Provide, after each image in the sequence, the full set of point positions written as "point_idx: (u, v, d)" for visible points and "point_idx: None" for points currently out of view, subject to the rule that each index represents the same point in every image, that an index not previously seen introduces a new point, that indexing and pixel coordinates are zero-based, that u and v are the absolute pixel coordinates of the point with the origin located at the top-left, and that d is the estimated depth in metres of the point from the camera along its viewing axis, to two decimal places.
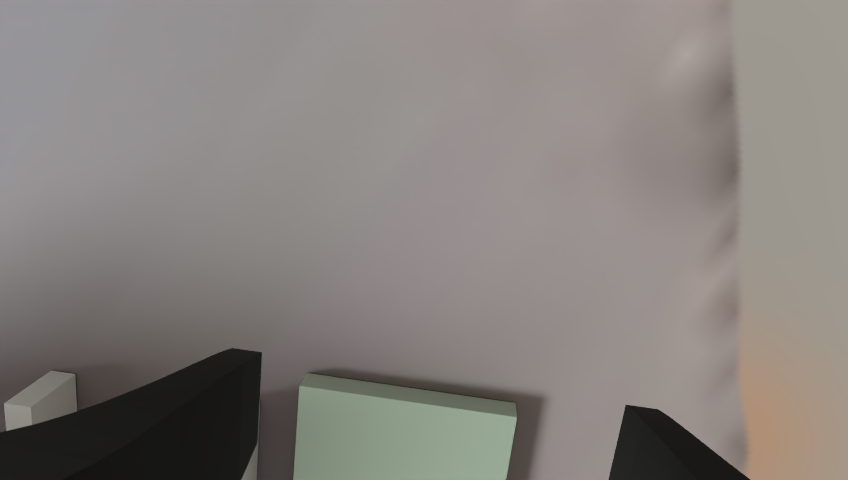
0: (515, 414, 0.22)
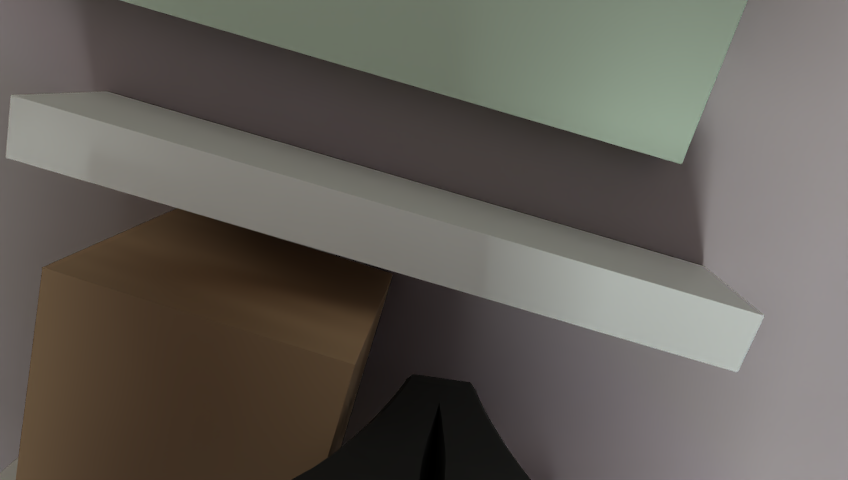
0: None
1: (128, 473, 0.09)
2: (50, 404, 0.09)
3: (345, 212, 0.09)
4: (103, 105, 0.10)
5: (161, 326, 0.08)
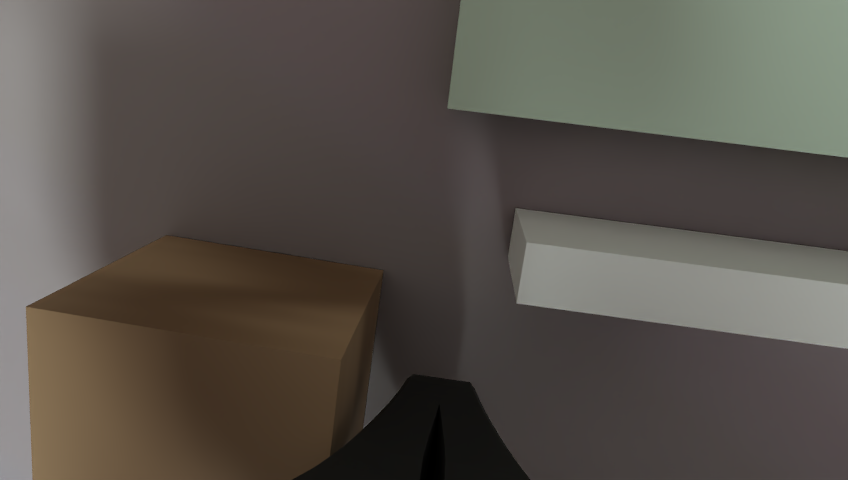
0: None
1: None
2: (55, 440, 0.09)
3: None
4: (565, 230, 0.10)
5: (147, 348, 0.08)
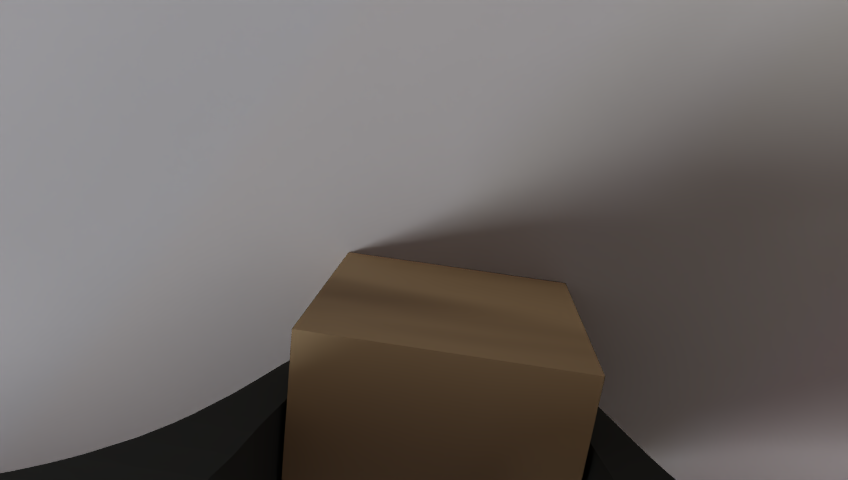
0: None
1: (390, 447, 0.09)
2: (453, 377, 0.09)
3: None
4: None
5: (559, 479, 0.09)
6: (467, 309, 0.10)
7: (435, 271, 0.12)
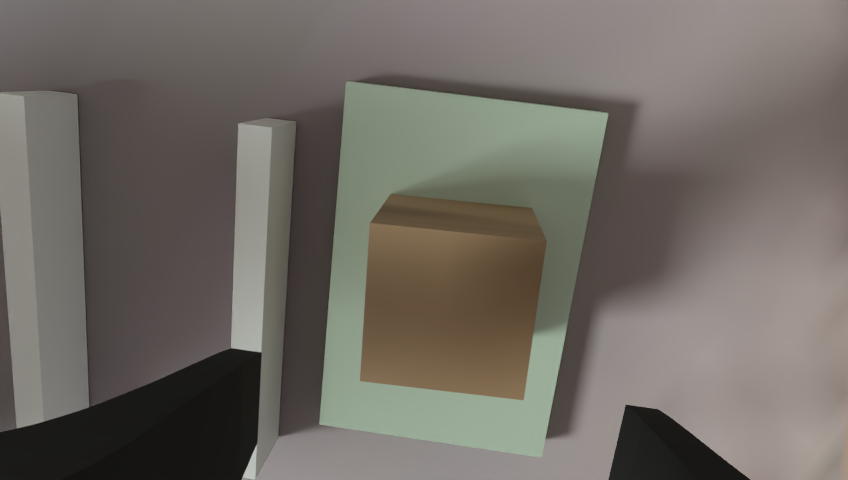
0: None
1: (427, 292, 0.16)
2: (461, 246, 0.15)
3: (254, 300, 0.19)
4: (282, 149, 0.19)
5: (524, 305, 0.16)
6: (469, 217, 0.17)
7: (447, 202, 0.19)
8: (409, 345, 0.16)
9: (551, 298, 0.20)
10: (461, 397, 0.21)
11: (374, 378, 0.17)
